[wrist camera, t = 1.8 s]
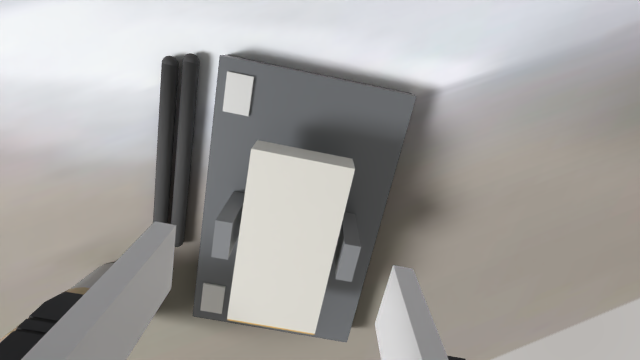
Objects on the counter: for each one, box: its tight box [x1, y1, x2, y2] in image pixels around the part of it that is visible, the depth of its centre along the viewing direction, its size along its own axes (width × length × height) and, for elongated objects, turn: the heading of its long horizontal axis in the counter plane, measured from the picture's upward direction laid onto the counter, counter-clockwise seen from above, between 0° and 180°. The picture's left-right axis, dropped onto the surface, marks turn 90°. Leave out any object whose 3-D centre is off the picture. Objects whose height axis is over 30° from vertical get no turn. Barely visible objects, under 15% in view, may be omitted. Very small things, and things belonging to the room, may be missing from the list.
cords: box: [153, 54, 199, 247], centre depth 32 cm, size 18×3×1 cm, turn 169°
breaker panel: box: [193, 55, 416, 342], centre depth 30 cm, size 24×15×8 cm, turn 169°
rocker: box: [227, 140, 355, 335], centre depth 28 cm, size 14×7×2 cm, turn 169°
